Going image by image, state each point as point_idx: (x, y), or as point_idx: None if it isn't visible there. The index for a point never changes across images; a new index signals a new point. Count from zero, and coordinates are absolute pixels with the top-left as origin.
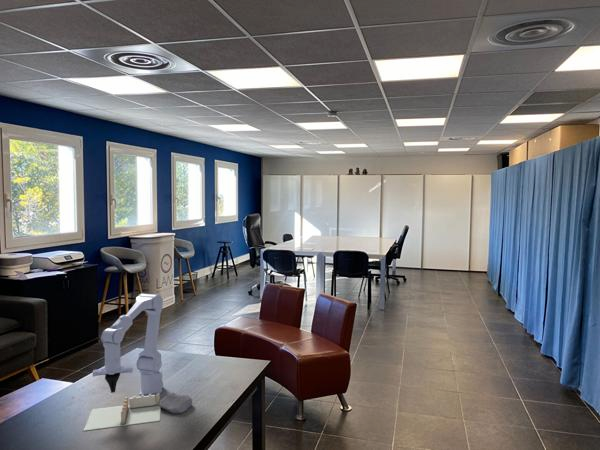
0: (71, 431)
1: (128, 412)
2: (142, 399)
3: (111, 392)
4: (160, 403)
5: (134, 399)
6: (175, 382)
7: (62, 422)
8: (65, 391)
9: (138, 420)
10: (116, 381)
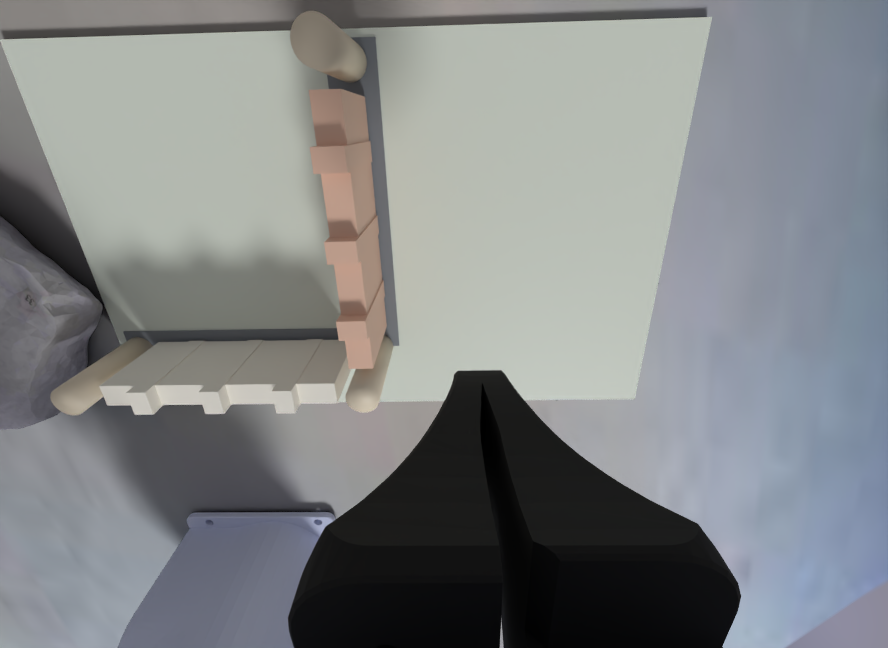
0: (813, 49)
1: None
2: (224, 371)
3: (498, 370)
4: (32, 275)
5: (291, 375)
6: None
7: (859, 253)
8: (781, 634)
9: (217, 96)
10: (404, 473)
